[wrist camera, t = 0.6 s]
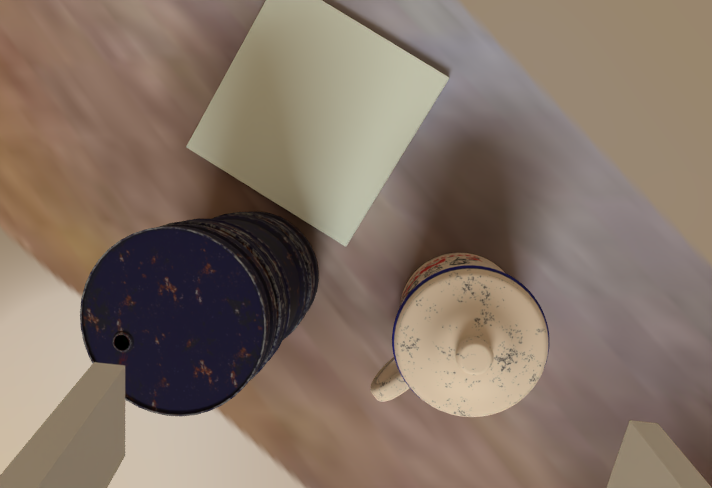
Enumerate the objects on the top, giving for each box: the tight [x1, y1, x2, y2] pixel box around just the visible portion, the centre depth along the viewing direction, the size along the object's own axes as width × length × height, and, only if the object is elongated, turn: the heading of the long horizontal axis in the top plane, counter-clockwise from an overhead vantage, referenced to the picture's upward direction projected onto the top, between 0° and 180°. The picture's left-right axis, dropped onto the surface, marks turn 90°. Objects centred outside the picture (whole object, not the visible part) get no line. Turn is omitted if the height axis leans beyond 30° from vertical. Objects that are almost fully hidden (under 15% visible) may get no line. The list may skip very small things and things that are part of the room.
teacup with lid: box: [371, 253, 549, 417], centre depth 35 cm, size 12×9×12 cm
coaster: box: [186, 0, 449, 247], centre depth 40 cm, size 14×14×1 cm
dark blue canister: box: [80, 212, 318, 416], centre depth 35 cm, size 10×10×15 cm
